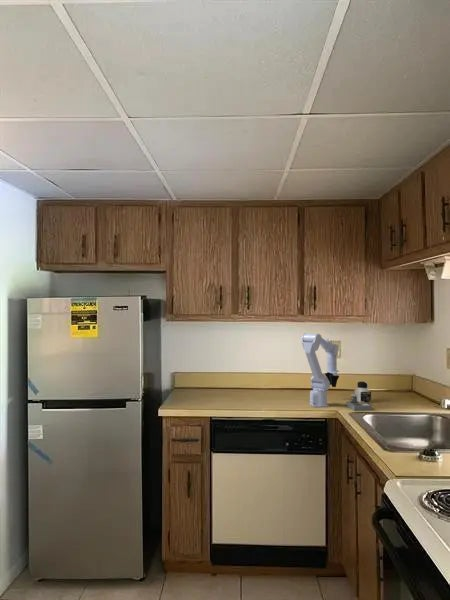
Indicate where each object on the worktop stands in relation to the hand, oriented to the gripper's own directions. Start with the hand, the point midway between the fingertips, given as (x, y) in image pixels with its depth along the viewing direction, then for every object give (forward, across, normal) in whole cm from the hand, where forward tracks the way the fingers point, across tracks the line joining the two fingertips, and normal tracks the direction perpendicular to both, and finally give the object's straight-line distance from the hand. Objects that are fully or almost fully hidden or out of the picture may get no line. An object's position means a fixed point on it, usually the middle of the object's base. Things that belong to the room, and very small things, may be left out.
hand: (331, 385), depth 294 cm
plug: (+9, -16, -8) cm, 20 cm away
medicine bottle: (+10, -3, -18) cm, 21 cm away
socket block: (+9, -19, -10) cm, 23 cm away
